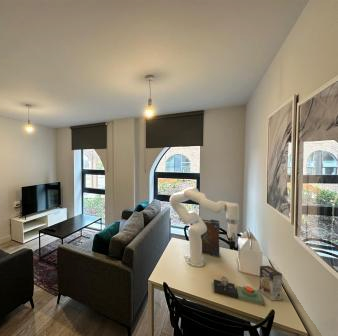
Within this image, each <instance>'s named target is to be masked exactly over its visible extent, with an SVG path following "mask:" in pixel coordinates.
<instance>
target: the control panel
mask: <svg viewBox="0 0 338 336" xmlns="http://www.w3.org/2000/svg"><path fill="white" fill-rule="evenodd" d="M213 292H214V294H217V295H221V296H225V297H229V298H232V299H238V294H237V290H236V284H235V283H232V282H228V288H223V287H222V286H221V280H218V279H213Z"/></svg>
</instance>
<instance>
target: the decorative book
mask: <svg viewBox="0 0 338 336" xmlns="http://www.w3.org/2000/svg"><path fill="white" fill-rule="evenodd" d="M201 219H202V221H203V222H204V223H205V225H206V227H207V231H206V232H205V233H204V234H202V235H201V240H202V254H203V255H209V256H211V257H217V258H220V257H221V256H220V253H221V251H220V231H221V229H220V228H221V227H220V226H221V222H220V220H219V219H205V218H201ZM191 225H193V224H192V223H191V224H189V227H190V226H191Z"/></svg>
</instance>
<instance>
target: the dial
mask: <svg viewBox="0 0 338 336" xmlns="http://www.w3.org/2000/svg"><path fill="white" fill-rule="evenodd" d="M220 281H221V286H222V287H223V288H228V283H229V278H228V277H226V276H224V275H222V276H221V277H220Z"/></svg>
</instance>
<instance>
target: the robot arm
mask: <svg viewBox="0 0 338 336" xmlns="http://www.w3.org/2000/svg"><path fill="white" fill-rule="evenodd" d="M189 200H190V201H193V202H196V203H198V204H199V205H200V206H202V208H204V209H205V210H207V211H209V212H211V213H214V214H220V213H224V212H225V222H226V224H227V229H226V232H227V233H226V235H227V238H228V239H229V241H228V242H229V244H228V245H229V247H230V248H236V240H238V225H240V205H239V204H238V203H236V202H229V201H225V200H219V201H217V202H216V201H213V200H211V199H208V198H207V196H206V193H203V192H202V191H201V192H200V191H199V189H198V188H197V187H192V186H191V187H187V188H185V189H184V190H183V191H181V192H175V193H173V194H172V195H171V196H170V197H169V204H170V207H171V209H173V211H174V212H175V213H176V214H177V216H178V217H179V219H180V220H181V221H182V223H183V224H185V225H187V226H188V225H189V227H188V229H187V234H188V255H186V254H183V258H184V259H185V260H186V262H187V263H188V264H189V265H191V266H193V267H199V268H201V267H203V266H204V265H205V262H204V260H203V253H202V240H201V235H202V234H204V233H205V232H206V231H207V227H206V225H205V223H204V222H203V221H202V219H203V218H201V217H200V216H199V213H197V212H196V211H193V210H189V211H188V210H187V208H186V207H185V206H184V205H183V204H181V203H183V202H187V201H189ZM191 223H192V224H193V225H191V226H190V224H191Z"/></svg>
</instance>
